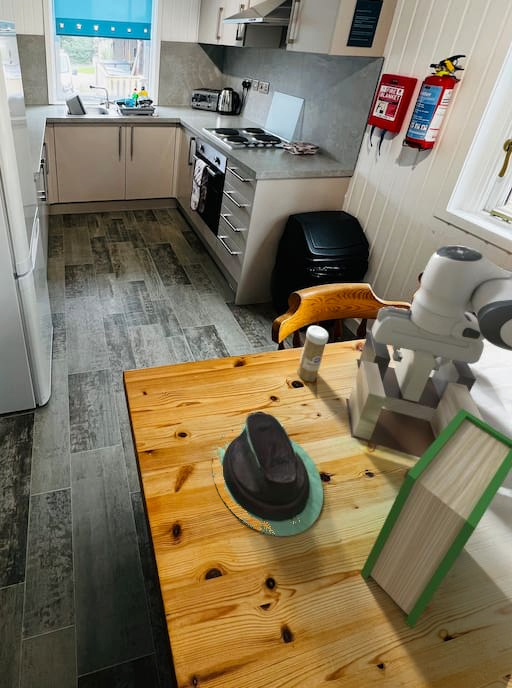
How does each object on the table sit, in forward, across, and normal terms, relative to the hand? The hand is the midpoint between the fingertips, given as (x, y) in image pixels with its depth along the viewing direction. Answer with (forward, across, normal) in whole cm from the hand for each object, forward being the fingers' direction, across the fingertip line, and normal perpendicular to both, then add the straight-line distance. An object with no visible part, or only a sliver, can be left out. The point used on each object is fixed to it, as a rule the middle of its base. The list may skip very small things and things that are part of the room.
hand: (414, 363), depth 90 cm
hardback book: (+8, -7, -38) cm, 39 cm away
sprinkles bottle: (+8, -22, -4) cm, 24 cm away
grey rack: (+8, 0, 0) cm, 8 cm away
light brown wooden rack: (+8, -4, -14) cm, 16 cm away
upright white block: (+7, 0, 0) cm, 7 cm away
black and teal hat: (+8, -30, -32) cm, 45 cm away
